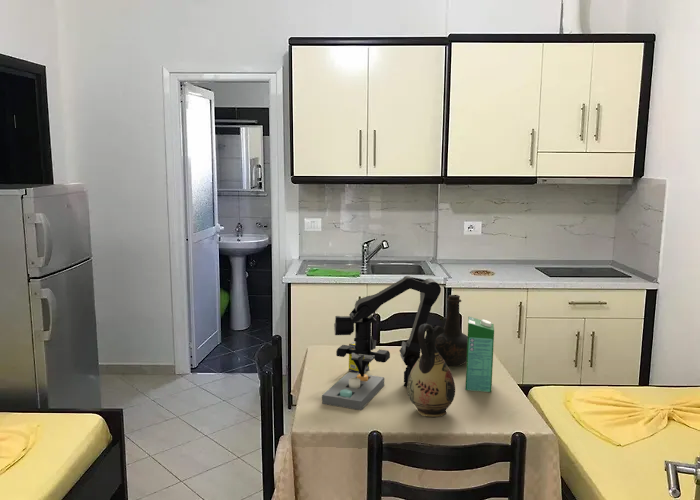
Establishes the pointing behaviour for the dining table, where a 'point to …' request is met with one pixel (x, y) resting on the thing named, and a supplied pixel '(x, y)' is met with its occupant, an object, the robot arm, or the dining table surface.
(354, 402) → the console
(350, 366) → the supplement box
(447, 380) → the ceramic jug
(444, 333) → the glass bottle
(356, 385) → the cream button
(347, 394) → the teal button
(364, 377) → the orange button
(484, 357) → the milk carton
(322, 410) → the dining table surface
